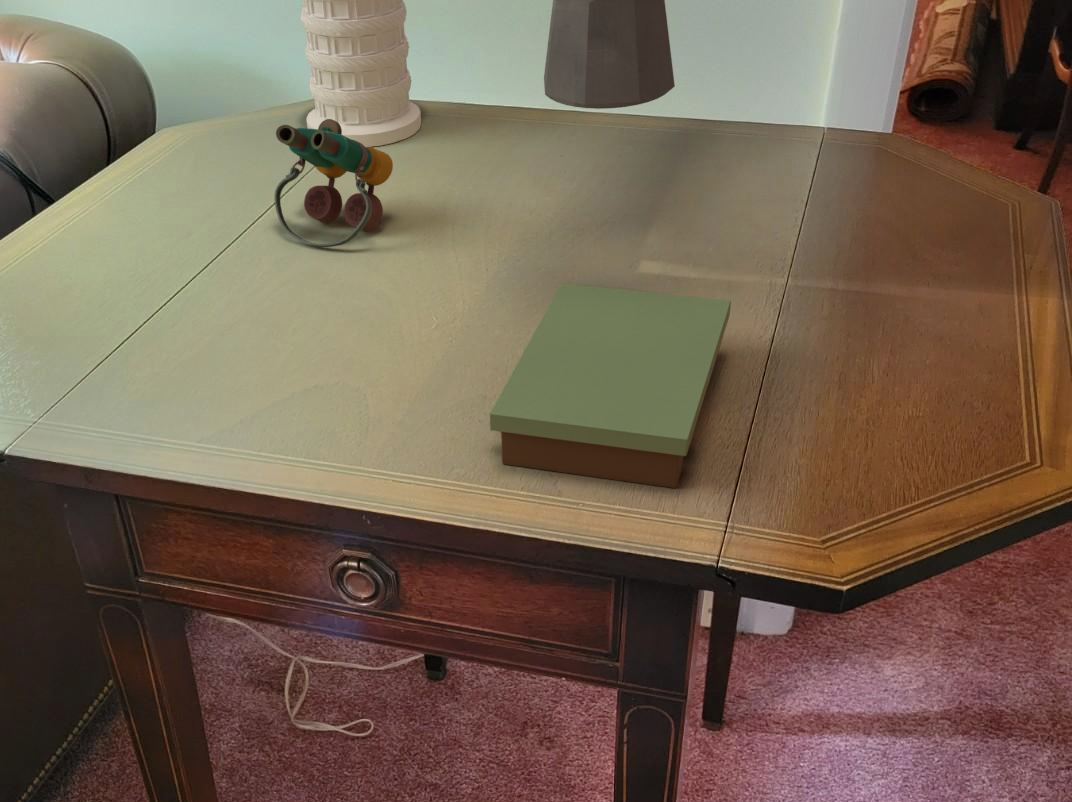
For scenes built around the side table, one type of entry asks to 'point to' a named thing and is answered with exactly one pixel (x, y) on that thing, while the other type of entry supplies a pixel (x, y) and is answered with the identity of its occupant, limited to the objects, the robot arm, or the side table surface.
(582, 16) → the coffeepot
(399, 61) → the decorative container
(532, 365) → the box with lid
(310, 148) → the binoculars
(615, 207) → the side table surface
